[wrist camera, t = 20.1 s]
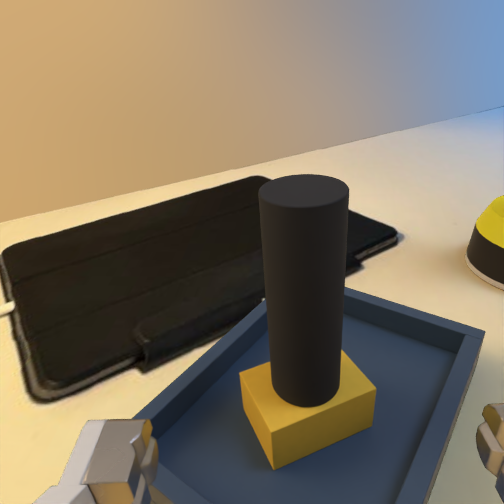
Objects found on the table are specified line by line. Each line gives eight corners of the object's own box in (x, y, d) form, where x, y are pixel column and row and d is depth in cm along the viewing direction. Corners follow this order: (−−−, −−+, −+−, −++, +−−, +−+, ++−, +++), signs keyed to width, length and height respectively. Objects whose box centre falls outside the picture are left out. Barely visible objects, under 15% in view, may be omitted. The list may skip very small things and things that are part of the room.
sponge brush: (273, 471, 17) (254, 225, 11) (243, 408, 20) (216, 187, 14) (372, 426, 19) (399, 189, 13) (331, 374, 21) (338, 162, 16)
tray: (359, 695, 12) (364, 663, 11) (116, 478, 18) (102, 443, 17) (476, 365, 23) (485, 330, 21) (296, 300, 29) (295, 270, 28)
